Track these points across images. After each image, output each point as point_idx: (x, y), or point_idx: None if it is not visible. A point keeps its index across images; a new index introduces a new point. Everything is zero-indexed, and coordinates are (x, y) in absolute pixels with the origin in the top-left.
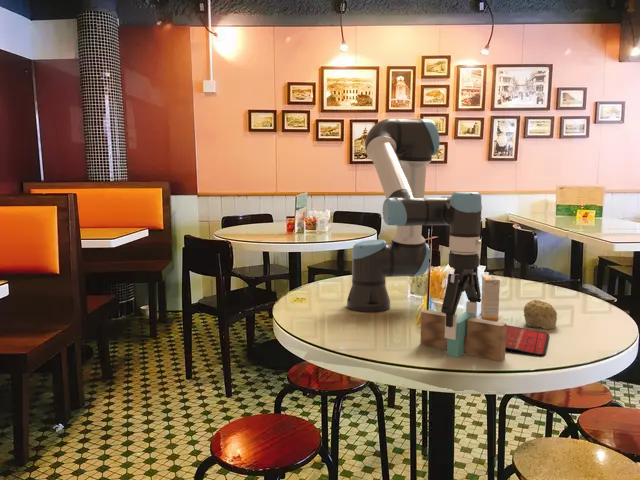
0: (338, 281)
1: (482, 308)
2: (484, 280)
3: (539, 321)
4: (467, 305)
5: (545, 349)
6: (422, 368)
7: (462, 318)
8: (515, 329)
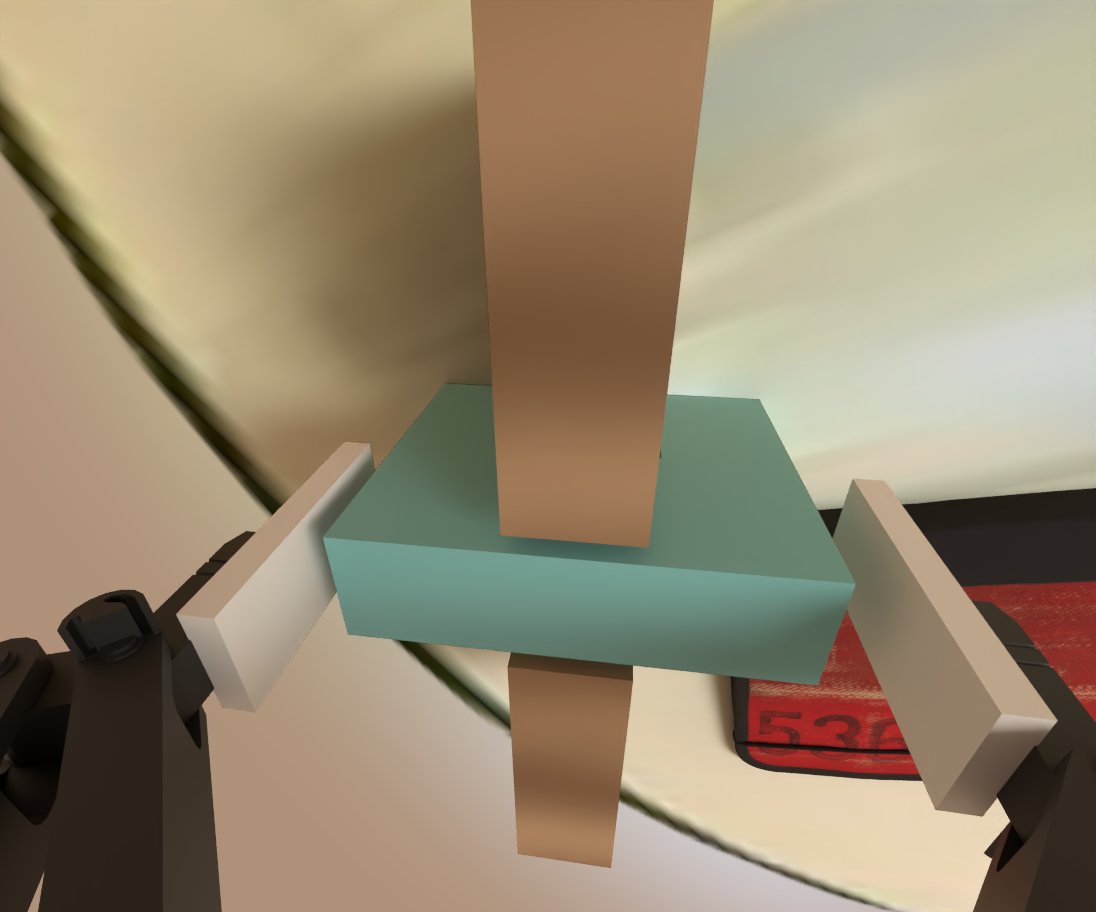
0: None
1: None
2: None
3: None
4: (958, 671)
5: (829, 775)
6: (137, 346)
7: (534, 623)
8: None
